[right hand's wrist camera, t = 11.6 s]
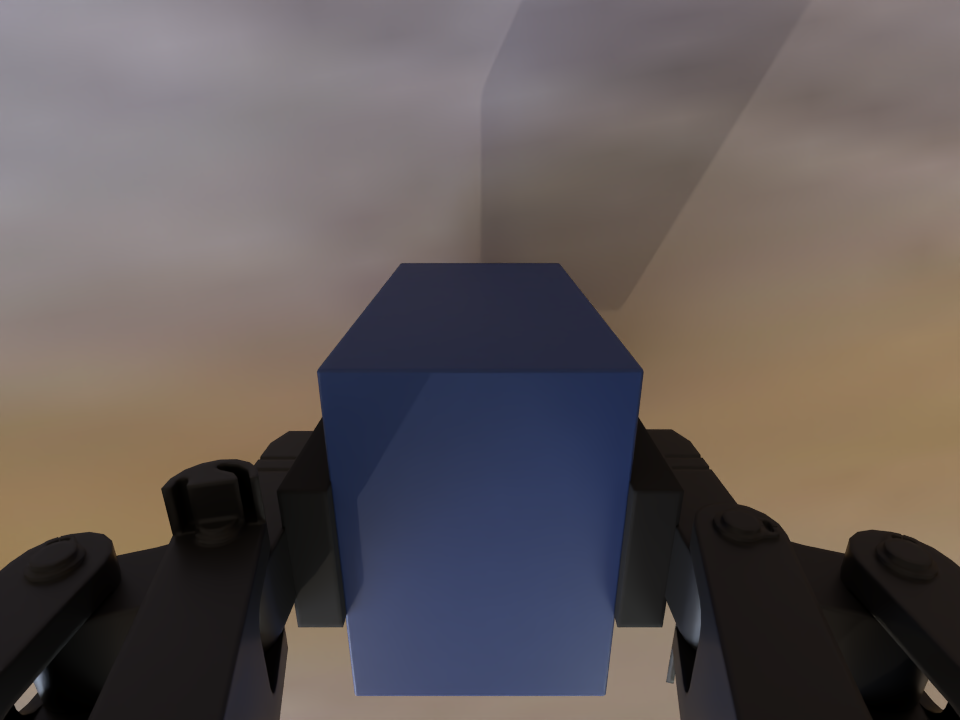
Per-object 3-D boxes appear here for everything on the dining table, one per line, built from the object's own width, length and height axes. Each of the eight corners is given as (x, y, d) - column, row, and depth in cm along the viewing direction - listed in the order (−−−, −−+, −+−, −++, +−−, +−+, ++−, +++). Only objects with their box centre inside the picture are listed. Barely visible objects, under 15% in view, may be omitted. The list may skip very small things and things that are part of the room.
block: (400, 262, 15) (316, 369, 7) (559, 263, 15) (645, 369, 7) (410, 456, 18) (353, 697, 10) (549, 457, 18) (606, 697, 10)
